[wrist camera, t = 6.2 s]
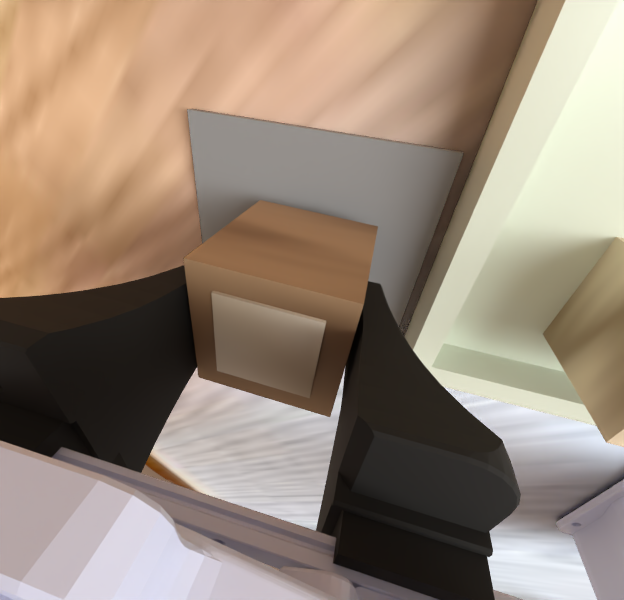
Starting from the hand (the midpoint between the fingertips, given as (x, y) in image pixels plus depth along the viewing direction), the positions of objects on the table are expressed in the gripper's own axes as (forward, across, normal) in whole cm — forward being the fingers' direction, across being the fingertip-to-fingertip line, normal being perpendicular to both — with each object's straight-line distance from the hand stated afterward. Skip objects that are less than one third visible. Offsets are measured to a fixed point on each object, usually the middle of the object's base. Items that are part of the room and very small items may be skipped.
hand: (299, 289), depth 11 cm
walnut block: (+2, 0, 0) cm, 2 cm away
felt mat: (+3, 0, 0) cm, 3 cm away
